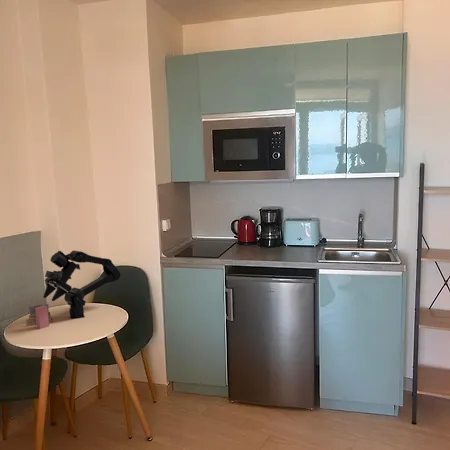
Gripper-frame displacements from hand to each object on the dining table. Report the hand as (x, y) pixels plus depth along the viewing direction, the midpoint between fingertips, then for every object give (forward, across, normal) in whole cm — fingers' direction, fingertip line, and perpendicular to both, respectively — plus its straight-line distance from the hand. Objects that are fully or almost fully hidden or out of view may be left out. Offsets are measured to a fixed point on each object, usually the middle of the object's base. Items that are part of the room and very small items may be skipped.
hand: (48, 299), depth 230 cm
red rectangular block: (+12, 0, +6) cm, 13 cm away
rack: (+10, -9, +8) cm, 16 cm away
